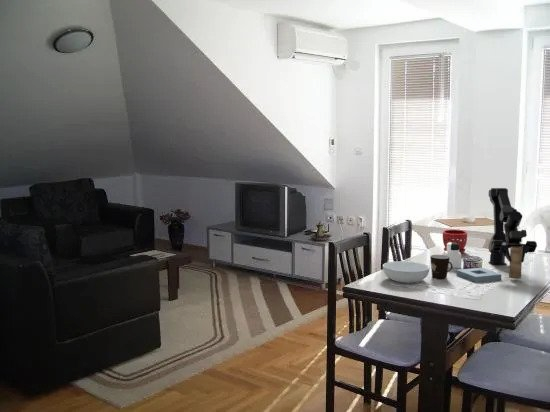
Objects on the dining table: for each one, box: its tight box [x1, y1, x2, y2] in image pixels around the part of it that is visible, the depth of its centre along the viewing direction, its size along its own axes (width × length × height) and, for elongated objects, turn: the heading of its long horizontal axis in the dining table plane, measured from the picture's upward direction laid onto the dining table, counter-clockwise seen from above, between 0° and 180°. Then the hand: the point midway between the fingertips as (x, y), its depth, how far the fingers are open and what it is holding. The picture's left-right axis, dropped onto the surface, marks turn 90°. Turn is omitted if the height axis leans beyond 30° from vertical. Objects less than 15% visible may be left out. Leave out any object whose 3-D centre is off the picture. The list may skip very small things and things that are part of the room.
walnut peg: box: [508, 246, 523, 280], centre depth 259 cm, size 5×5×14 cm
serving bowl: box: [382, 260, 431, 284], centre depth 260 cm, size 21×21×7 cm
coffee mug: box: [430, 254, 453, 280], centre depth 263 cm, size 12×9×10 cm
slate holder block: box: [456, 267, 502, 283], centre depth 265 cm, size 14×14×2 cm
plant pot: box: [442, 229, 468, 254], centre depth 320 cm, size 13×13×12 cm
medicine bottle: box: [443, 242, 463, 269], centre depth 287 cm, size 7×7×12 cm
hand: (516, 261), depth 257 cm, fingers closed on walnut peg, 5 cm apart
